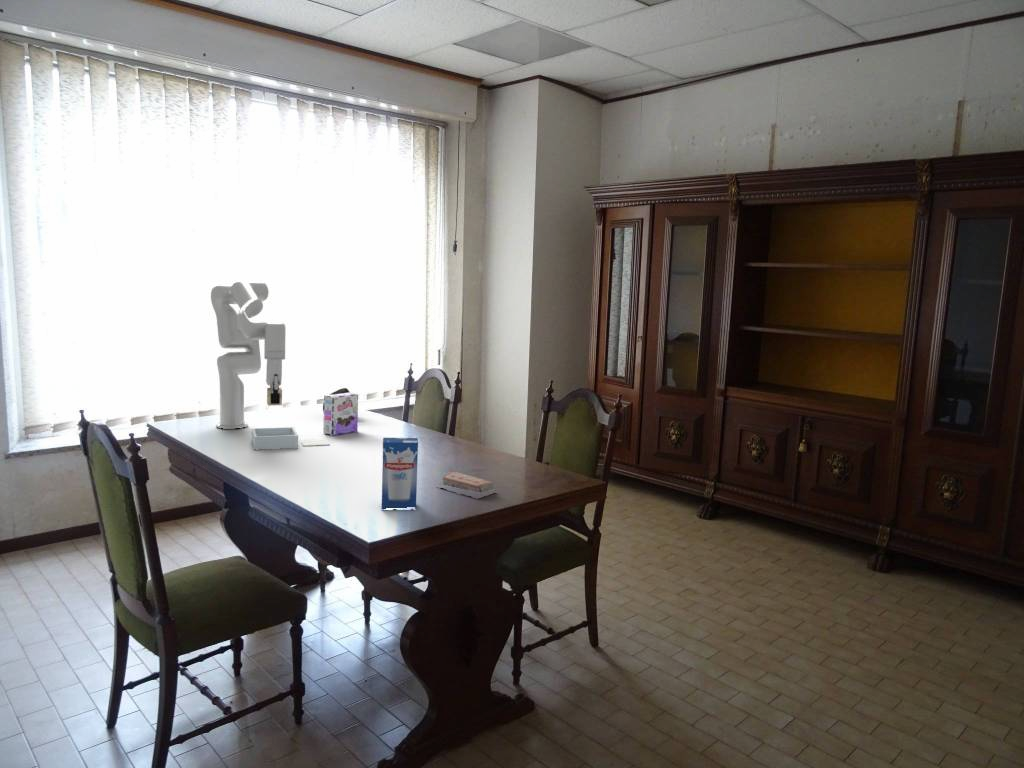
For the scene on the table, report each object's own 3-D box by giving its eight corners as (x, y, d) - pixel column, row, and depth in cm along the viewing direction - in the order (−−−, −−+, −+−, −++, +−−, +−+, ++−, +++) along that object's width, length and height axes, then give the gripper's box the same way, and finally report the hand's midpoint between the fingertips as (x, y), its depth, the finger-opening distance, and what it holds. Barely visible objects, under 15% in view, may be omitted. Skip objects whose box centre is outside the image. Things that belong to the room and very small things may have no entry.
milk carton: (415, 503, 219) (417, 437, 216) (416, 510, 213) (418, 442, 210) (381, 503, 217) (383, 437, 215) (381, 510, 211) (382, 442, 208)
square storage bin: (252, 441, 288) (252, 428, 287) (293, 439, 294) (293, 427, 293) (254, 450, 274) (254, 437, 273) (298, 448, 280) (298, 435, 279)
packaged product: (498, 479, 233) (477, 485, 225) (497, 494, 234) (477, 501, 226) (456, 468, 244) (435, 474, 236) (456, 482, 245) (435, 488, 237)
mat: (300, 440, 292) (300, 439, 292) (325, 439, 296) (325, 438, 296) (303, 446, 283) (303, 445, 283) (329, 445, 287) (329, 444, 287)
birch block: (267, 403, 283) (267, 387, 282) (280, 402, 285) (280, 387, 284) (268, 405, 279) (268, 389, 278) (281, 405, 281) (282, 389, 280)
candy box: (332, 436, 303) (332, 396, 301) (322, 434, 307) (323, 394, 304) (358, 431, 314) (358, 393, 312) (348, 429, 317) (349, 391, 315)
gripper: (262, 352, 285) (262, 398, 288) (266, 357, 270) (265, 406, 273) (282, 352, 288) (282, 398, 291) (287, 358, 273) (287, 406, 276)
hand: (274, 401), depth 282 cm, fingers closed on birch block, 4 cm apart
